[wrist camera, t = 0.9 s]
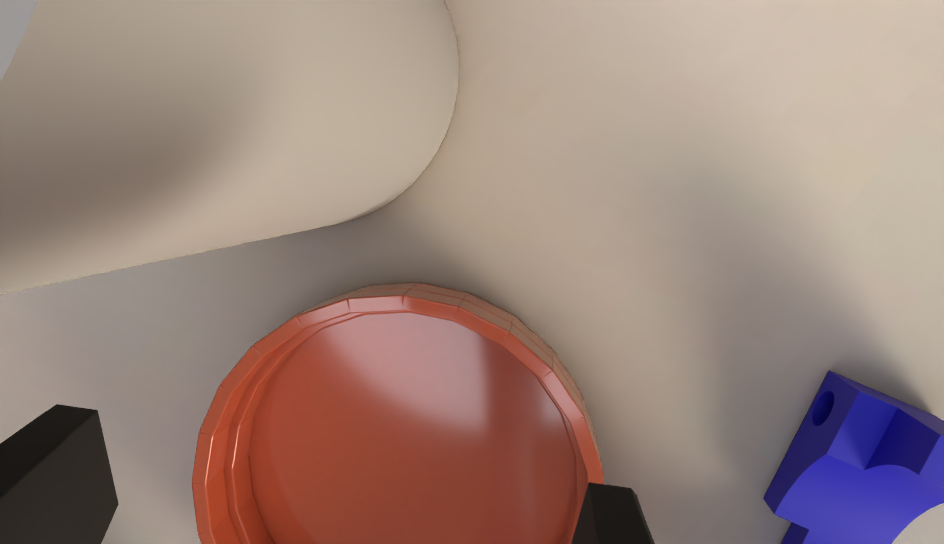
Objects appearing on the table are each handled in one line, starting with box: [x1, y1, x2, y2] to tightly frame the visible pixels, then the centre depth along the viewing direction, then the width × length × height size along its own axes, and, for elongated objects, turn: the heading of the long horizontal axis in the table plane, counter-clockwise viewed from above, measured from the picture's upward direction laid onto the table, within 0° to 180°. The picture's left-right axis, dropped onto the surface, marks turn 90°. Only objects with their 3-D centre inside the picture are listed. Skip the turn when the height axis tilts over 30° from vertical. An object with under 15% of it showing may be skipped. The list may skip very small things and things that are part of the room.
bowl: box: [192, 283, 603, 544], centre depth 31 cm, size 16×16×4 cm
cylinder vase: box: [0, 0, 459, 295], centre depth 19 cm, size 12×12×25 cm
